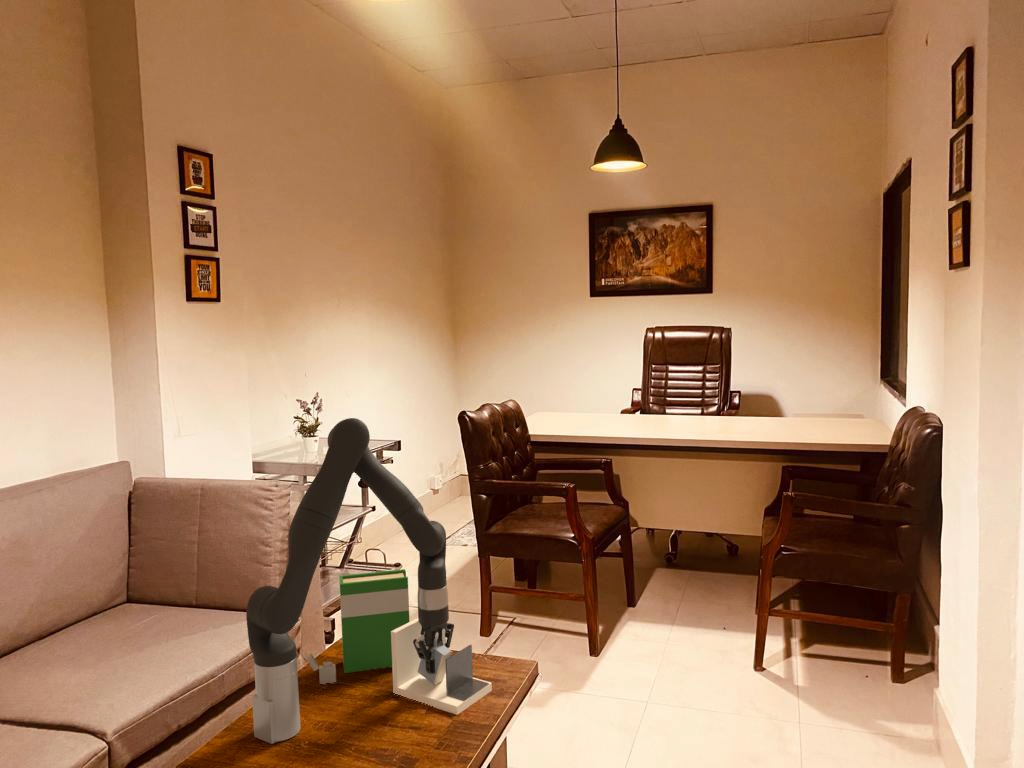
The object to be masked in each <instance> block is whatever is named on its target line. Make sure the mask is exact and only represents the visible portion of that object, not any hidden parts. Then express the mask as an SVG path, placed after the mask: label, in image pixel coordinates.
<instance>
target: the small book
mask: <svg viewBox="0 0 1024 768" xmlns="http://www.w3.org/2000/svg"><path fill="white" fill-rule="evenodd" d="M427 645H429V644H427ZM429 646H432V645H429ZM452 652H453V651H452V650H451V649H450V648H447V647H445V646H444V645H442V644H440V643H439V642H438V643H437V649H436V650H435V656H434V659H435V673H434V674H430V673H427V671H426V662H425V660H424V659H421V661H420V665H419V668H418V671H417V672H418V673H419V674H421V675H422V676H423V677H425V678H426V679H427V680H429V681H430V682H431V683H432V684H434V685H437V684H438V683H440V682H441V681H443V679H444V676H445V673H446V664H445V659H447V658H449V657H450V656H452ZM428 654H430V650H428Z"/></svg>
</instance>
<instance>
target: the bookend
mask: <svg viewBox="0 0 1024 768" xmlns="http://www.w3.org/2000/svg"><path fill="white" fill-rule="evenodd" d="M445 664H446V693H447V696H450V697H453V698H456V699H459V700H462V701H465V700H467V699H468V698H470V697H471V696H473V695H474V694H476V693H477V692H479V691H480V690H482V689H483V688H484V687H486V686H487V685H489V683H487V682H488V681H487V682H483V681H480V680H481V679H480V680H476V679H473V678H474V677H473V675H474V674H473V673H474V672H473V646H472V644H469V645H468V646H465V647H464V648H462V649H460V650H459V651H457V652H456V653H454V654H451V656H450V657H449V658H447V659H445Z"/></svg>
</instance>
